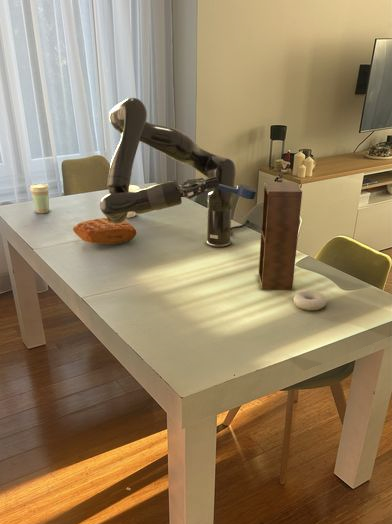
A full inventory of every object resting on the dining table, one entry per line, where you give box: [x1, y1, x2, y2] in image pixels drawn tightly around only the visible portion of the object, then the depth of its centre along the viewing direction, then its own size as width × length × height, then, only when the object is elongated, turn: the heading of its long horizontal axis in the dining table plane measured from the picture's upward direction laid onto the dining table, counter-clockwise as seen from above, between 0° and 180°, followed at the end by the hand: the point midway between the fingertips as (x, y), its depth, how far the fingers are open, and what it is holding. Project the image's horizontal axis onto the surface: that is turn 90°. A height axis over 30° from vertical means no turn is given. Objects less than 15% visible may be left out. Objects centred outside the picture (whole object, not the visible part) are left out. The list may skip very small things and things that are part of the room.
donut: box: [293, 290, 327, 311], centre depth 167 cm, size 10×4×10 cm
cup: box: [126, 184, 141, 218], centre depth 246 cm, size 12×12×12 cm
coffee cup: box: [29, 183, 50, 214], centre depth 251 cm, size 8×9×12 cm
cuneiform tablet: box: [72, 217, 138, 245], centre depth 216 cm, size 22×17×8 cm
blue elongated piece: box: [201, 178, 257, 200], centre depth 167 cm, size 17×6×2 cm, turn 90°
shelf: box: [257, 181, 303, 291], centre depth 175 cm, size 10×12×32 cm
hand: (218, 181), depth 166 cm, fingers closed on blue elongated piece, 2 cm apart
